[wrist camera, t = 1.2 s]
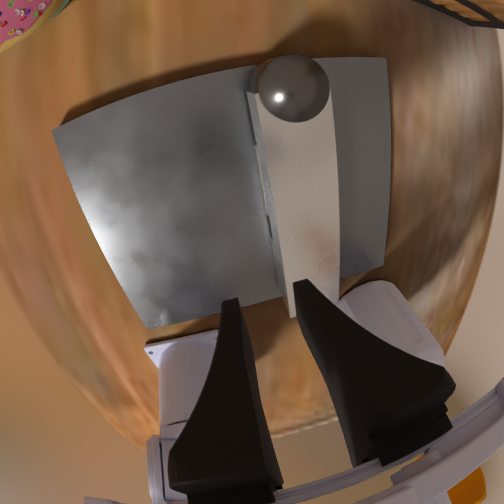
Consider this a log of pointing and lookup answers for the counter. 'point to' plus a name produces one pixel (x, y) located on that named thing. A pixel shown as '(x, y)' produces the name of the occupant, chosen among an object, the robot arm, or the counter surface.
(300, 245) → the white long bar
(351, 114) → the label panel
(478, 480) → the soap bottle
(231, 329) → the robot arm
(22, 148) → the counter surface
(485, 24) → the ammunition clip
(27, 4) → the cupcake
